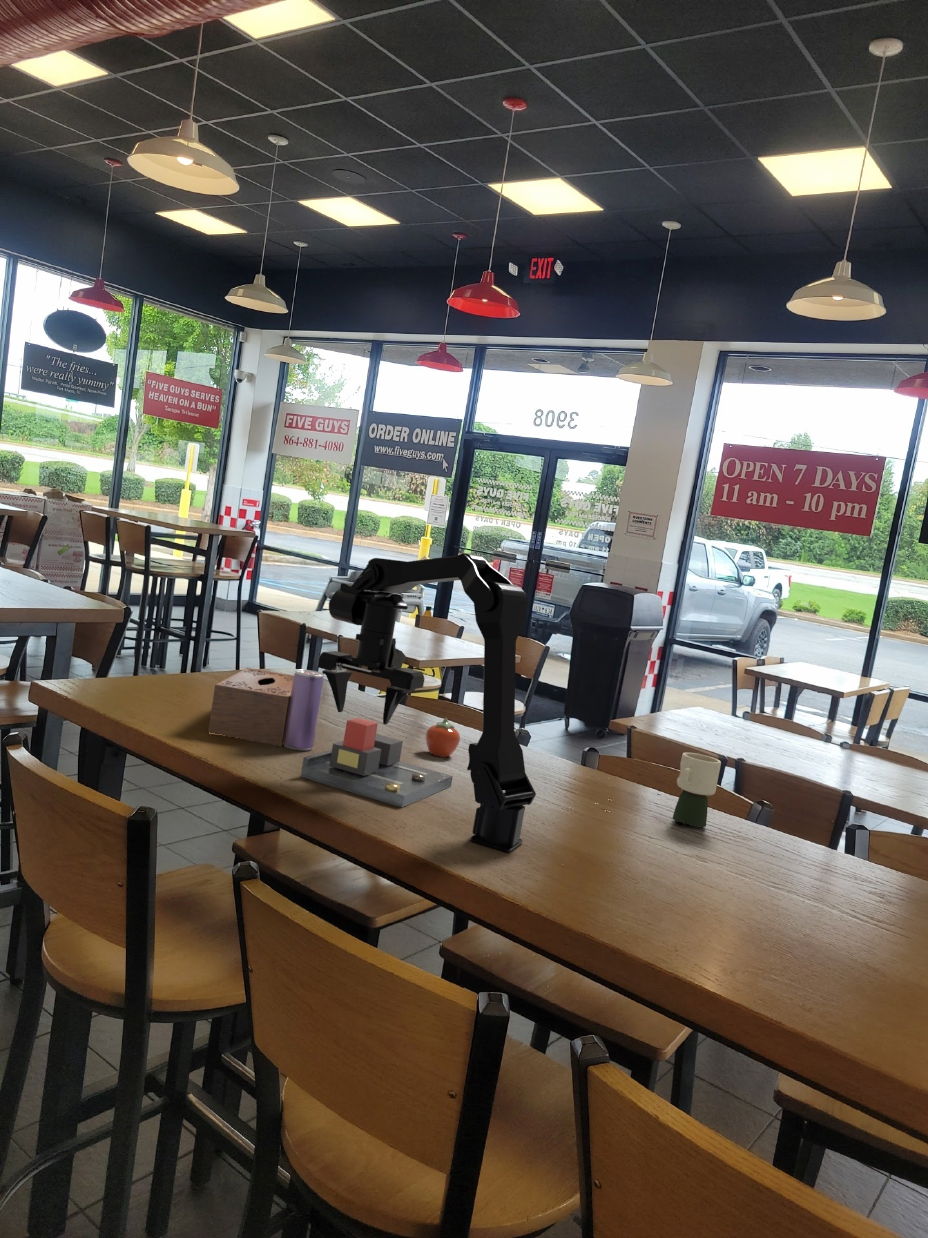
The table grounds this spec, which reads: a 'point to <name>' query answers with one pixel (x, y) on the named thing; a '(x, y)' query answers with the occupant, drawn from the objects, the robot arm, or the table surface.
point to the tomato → (442, 739)
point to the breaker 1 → (355, 759)
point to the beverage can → (303, 710)
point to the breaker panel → (378, 780)
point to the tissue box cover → (252, 706)
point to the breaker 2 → (388, 749)
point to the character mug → (696, 788)
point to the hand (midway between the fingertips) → (362, 717)
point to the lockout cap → (360, 734)
